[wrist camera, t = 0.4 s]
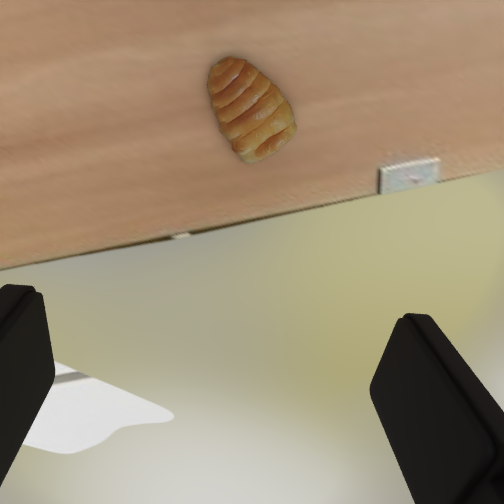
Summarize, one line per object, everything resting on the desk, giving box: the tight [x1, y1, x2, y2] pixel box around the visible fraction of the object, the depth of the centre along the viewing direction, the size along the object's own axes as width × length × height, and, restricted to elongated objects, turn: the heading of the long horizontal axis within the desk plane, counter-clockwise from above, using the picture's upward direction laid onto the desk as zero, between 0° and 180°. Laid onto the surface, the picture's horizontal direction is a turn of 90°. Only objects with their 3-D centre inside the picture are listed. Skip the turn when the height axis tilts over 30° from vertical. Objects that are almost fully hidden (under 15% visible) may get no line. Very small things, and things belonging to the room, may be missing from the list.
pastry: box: [207, 56, 297, 164], centre depth 34 cm, size 9×7×4 cm
